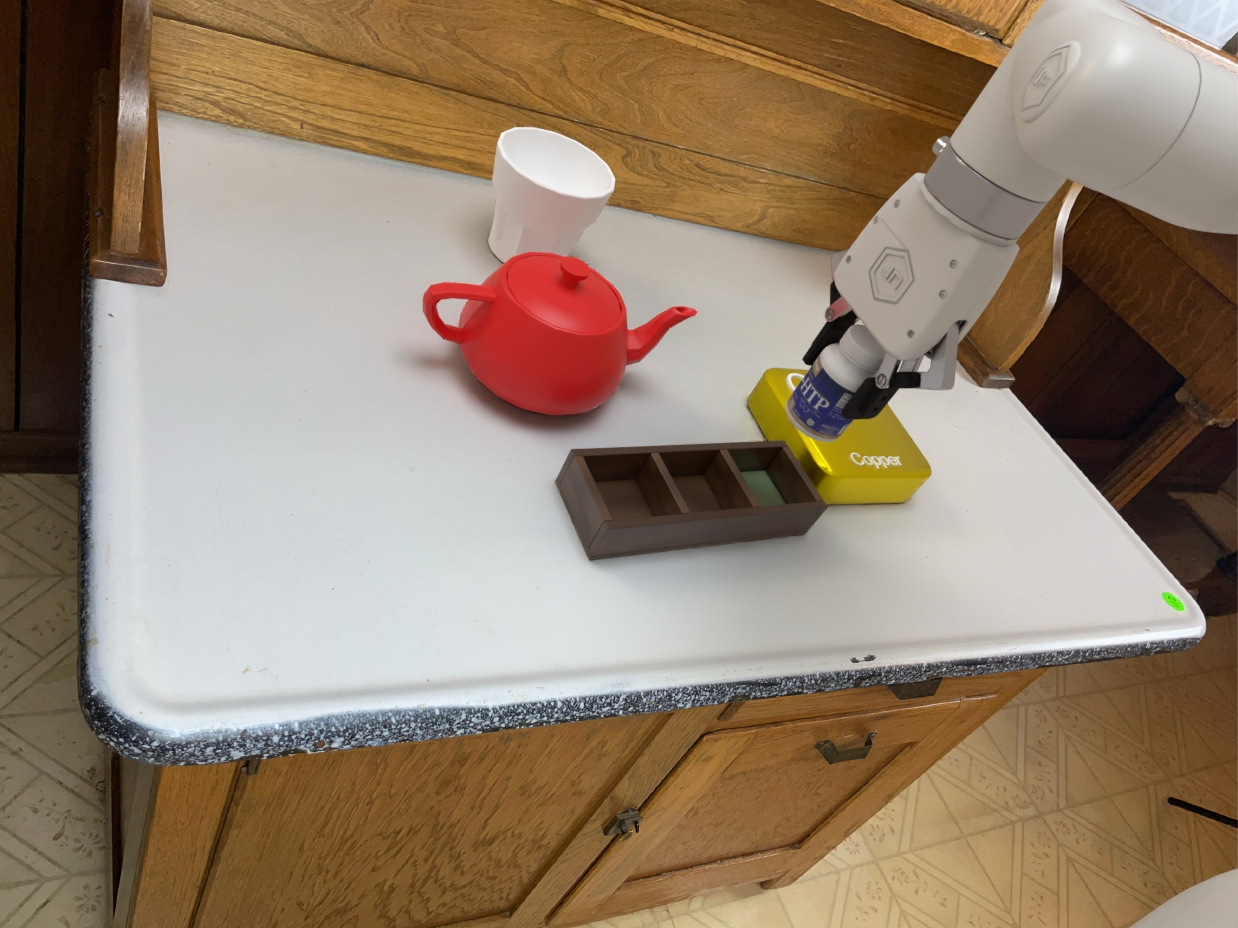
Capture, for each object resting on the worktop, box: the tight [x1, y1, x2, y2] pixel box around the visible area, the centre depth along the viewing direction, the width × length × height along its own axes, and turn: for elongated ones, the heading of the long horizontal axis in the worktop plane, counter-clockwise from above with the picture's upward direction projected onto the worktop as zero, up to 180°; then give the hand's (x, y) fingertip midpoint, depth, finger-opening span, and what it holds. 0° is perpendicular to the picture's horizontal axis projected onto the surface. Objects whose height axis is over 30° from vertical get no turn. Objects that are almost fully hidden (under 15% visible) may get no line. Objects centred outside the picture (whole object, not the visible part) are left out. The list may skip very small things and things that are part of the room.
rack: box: [554, 440, 829, 561], centre depth 73 cm, size 8×23×4 cm, turn 114°
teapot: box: [422, 252, 698, 417], centre depth 76 cm, size 25×16×12 cm, turn 107°
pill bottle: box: [786, 323, 886, 442], centre depth 68 cm, size 5×5×9 cm
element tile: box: [747, 367, 933, 505], centre depth 87 cm, size 15×15×5 cm
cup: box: [487, 126, 616, 264], centre depth 89 cm, size 12×12×11 cm
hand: (836, 387), depth 69 cm, fingers closed on pill bottle, 5 cm apart
